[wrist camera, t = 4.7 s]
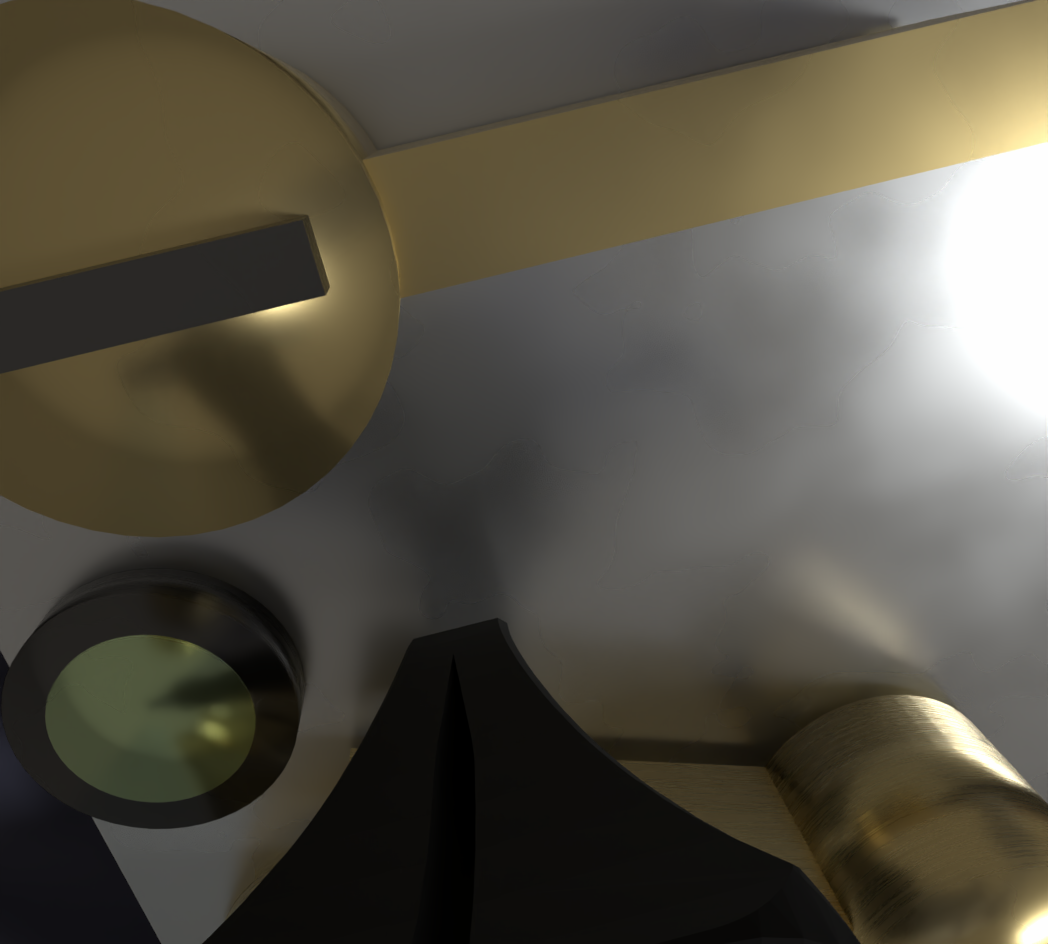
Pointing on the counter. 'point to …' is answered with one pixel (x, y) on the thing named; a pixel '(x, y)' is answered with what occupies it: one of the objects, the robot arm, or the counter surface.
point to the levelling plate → (583, 471)
